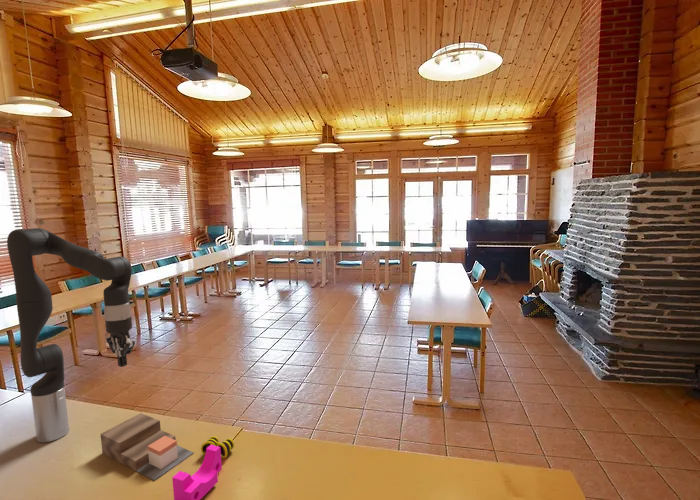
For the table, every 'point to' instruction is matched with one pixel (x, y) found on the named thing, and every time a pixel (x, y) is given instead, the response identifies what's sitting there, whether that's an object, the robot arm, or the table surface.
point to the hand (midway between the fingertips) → (122, 365)
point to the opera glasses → (224, 446)
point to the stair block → (138, 445)
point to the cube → (162, 452)
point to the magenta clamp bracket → (198, 477)
